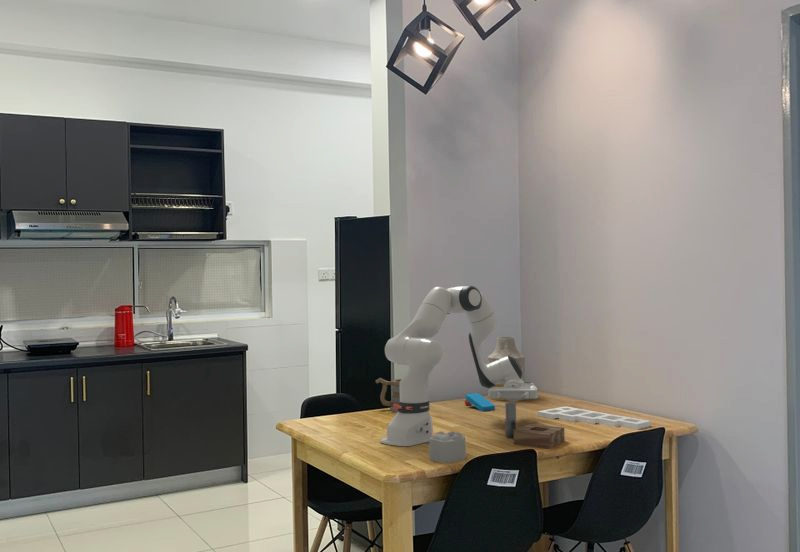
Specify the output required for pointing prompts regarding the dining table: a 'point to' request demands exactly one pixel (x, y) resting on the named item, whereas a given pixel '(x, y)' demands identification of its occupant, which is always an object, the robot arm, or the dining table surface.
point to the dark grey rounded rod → (510, 419)
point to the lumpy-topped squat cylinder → (447, 447)
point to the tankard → (394, 388)
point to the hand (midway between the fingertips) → (512, 396)
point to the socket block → (539, 435)
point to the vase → (507, 349)
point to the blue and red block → (479, 402)
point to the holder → (593, 417)
